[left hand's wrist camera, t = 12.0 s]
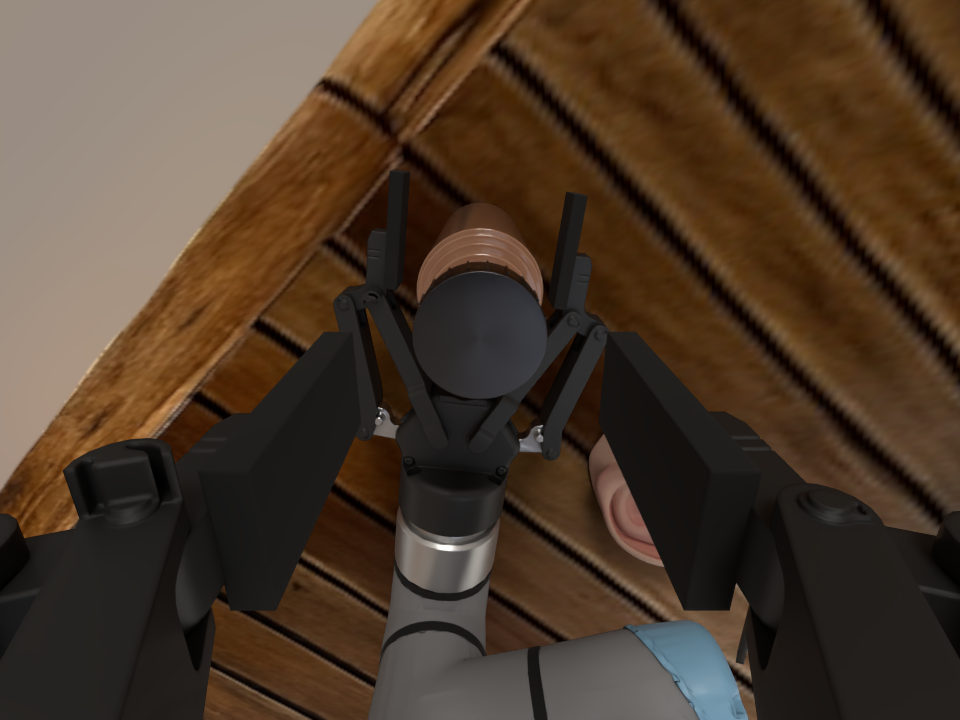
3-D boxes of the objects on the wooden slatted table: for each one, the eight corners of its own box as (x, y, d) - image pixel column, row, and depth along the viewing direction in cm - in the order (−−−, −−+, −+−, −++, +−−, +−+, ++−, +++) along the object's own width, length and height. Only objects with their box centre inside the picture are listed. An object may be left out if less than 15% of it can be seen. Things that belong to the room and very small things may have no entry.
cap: (445, 237, 18) (442, 245, 16) (565, 290, 18) (573, 303, 17) (398, 352, 19) (390, 370, 18) (510, 397, 20) (513, 419, 18)
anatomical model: (625, 414, 37) (773, 445, 38) (611, 391, 40) (746, 420, 41) (572, 556, 41) (704, 581, 42) (564, 524, 45) (686, 547, 46)
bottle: (458, 188, 35) (433, 221, 16) (533, 223, 36) (593, 293, 17) (427, 264, 37) (373, 373, 18) (499, 296, 38) (519, 431, 19)
